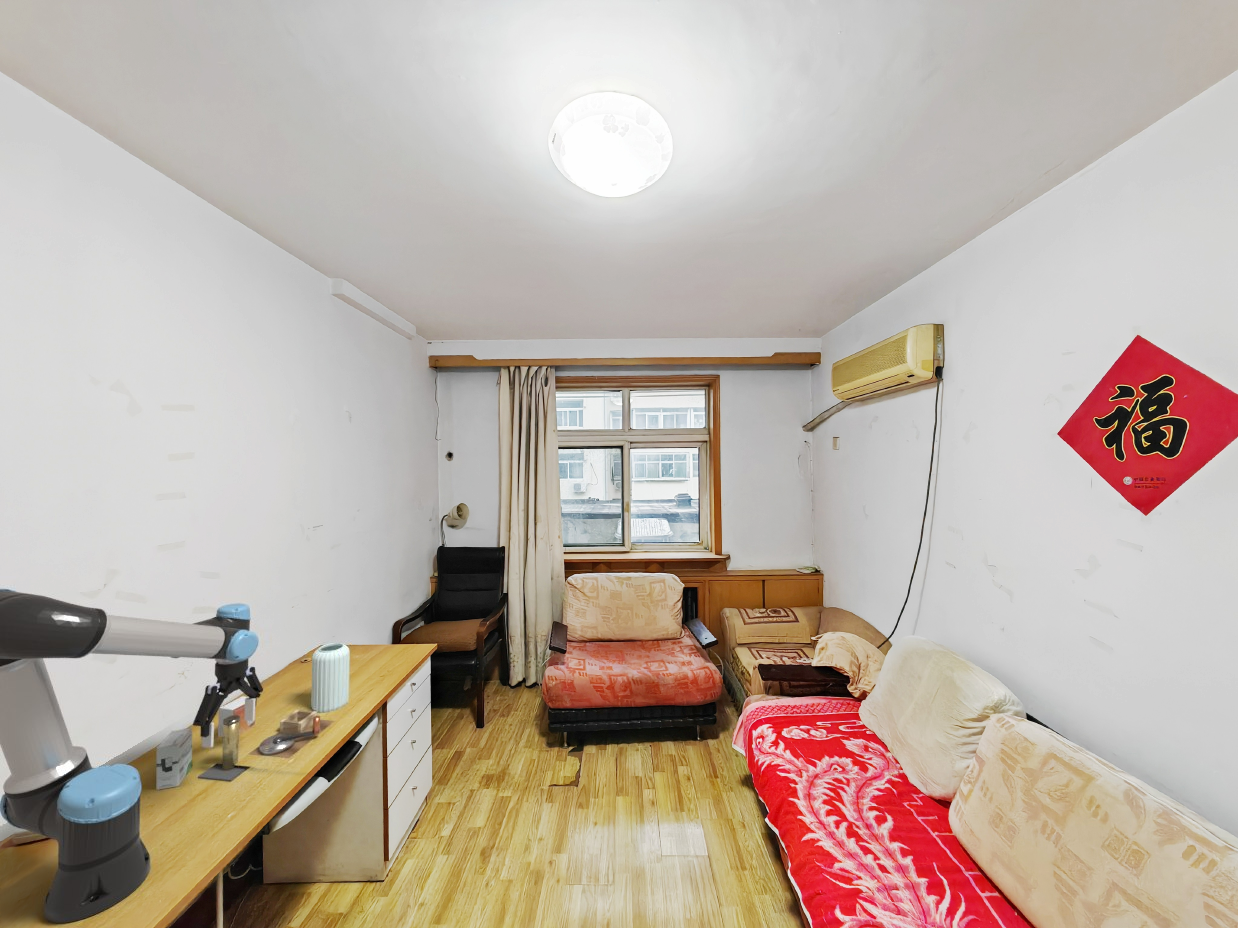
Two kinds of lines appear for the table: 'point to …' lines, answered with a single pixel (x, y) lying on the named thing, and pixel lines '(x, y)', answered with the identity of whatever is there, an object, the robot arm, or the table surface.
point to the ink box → (173, 758)
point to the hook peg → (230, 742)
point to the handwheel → (286, 739)
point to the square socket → (297, 721)
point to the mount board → (296, 742)
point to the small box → (234, 709)
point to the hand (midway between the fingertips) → (229, 732)
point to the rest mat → (222, 773)
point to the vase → (330, 677)
